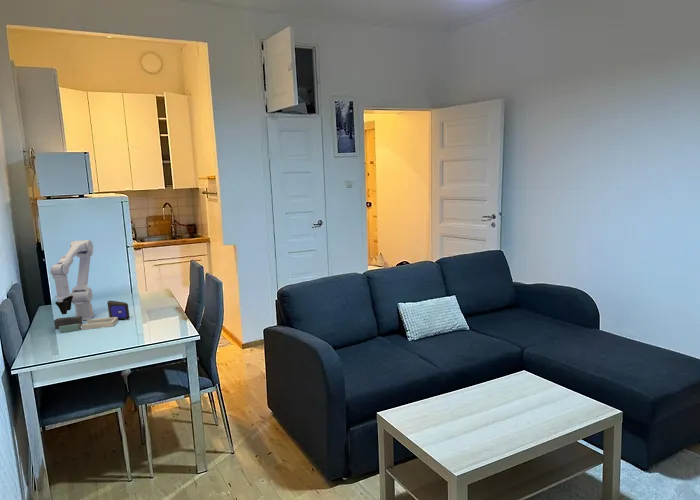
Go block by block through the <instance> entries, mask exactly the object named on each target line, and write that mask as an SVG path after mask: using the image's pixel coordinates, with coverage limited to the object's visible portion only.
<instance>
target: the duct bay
mask: <svg viewBox="0 0 700 500" xmlns="http://www.w3.org/2000/svg"><path fill="white" fill-rule="evenodd" d="M118 322H119V320H118V317H112V318H110V317H105V318H104V317H103V318H95V319H94V318H93V319H92V318H91V319H90V320H86V323H84V324H82V325H81V330H82V331H83V330H91V329H92V328H94V329H102V327H104V328H112V326H113V327H114V326H115V325H116V324H118Z"/></svg>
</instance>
